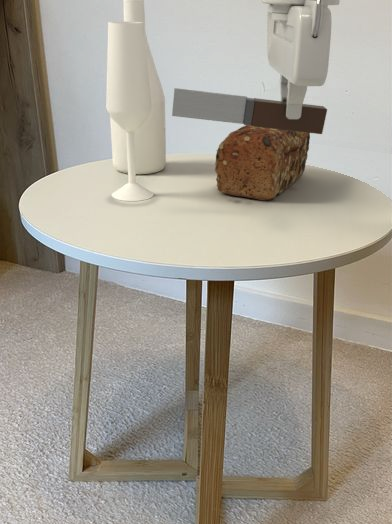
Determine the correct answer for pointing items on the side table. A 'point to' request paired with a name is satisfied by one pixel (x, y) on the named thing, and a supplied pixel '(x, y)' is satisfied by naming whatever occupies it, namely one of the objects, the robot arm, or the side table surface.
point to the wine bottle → (153, 128)
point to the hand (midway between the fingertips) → (289, 115)
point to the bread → (260, 161)
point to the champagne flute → (128, 94)
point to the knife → (246, 111)
